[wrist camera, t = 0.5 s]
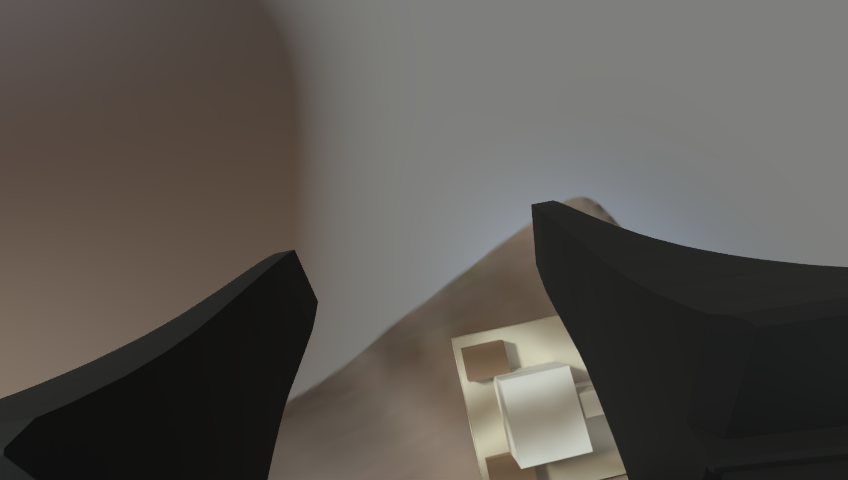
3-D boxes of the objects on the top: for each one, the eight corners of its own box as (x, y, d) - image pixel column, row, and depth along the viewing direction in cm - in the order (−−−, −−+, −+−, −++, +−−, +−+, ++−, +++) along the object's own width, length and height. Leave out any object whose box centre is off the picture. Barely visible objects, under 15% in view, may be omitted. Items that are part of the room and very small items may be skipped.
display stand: (635, 462, 35) (675, 487, 30) (485, 498, 35) (498, 532, 29) (589, 308, 38) (617, 306, 33) (451, 338, 38) (456, 341, 32)
